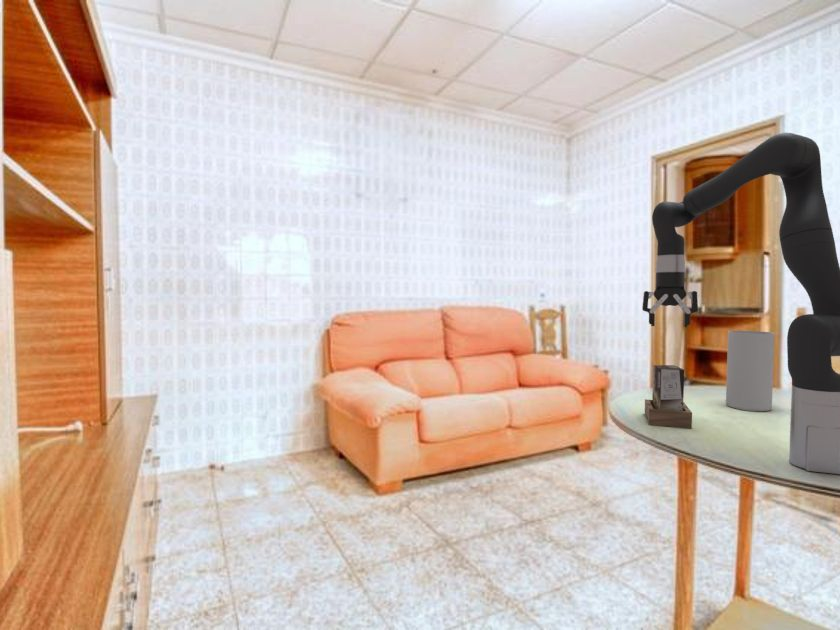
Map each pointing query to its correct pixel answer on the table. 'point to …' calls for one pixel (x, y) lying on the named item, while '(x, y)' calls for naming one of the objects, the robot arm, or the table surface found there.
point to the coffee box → (668, 387)
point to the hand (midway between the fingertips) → (669, 326)
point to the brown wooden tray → (668, 416)
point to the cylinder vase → (750, 370)
